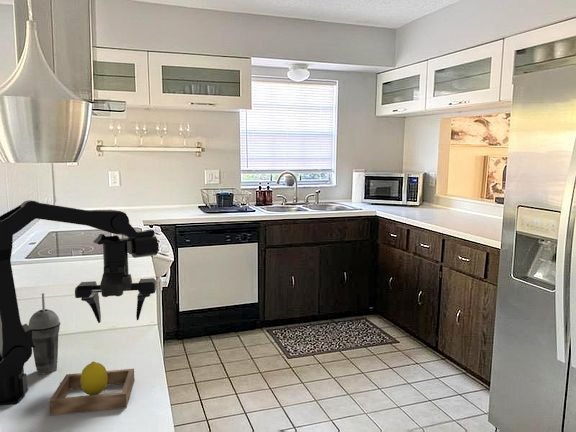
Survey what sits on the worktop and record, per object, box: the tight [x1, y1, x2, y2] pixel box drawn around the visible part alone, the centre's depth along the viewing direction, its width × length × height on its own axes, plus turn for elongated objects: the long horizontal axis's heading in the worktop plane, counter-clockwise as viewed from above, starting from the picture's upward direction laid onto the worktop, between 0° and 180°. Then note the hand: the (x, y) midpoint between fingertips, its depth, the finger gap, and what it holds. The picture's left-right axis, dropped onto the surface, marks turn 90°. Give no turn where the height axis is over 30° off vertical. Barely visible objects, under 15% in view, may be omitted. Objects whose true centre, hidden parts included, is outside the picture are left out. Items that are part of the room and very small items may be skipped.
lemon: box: [80, 361, 108, 395], centre depth 102 cm, size 6×6×8 cm
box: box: [48, 368, 136, 416], centre depth 102 cm, size 15×13×3 cm
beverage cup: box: [27, 293, 61, 375], centre depth 116 cm, size 7×7×20 cm
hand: (118, 321), depth 117 cm, fingers open, 9 cm apart
